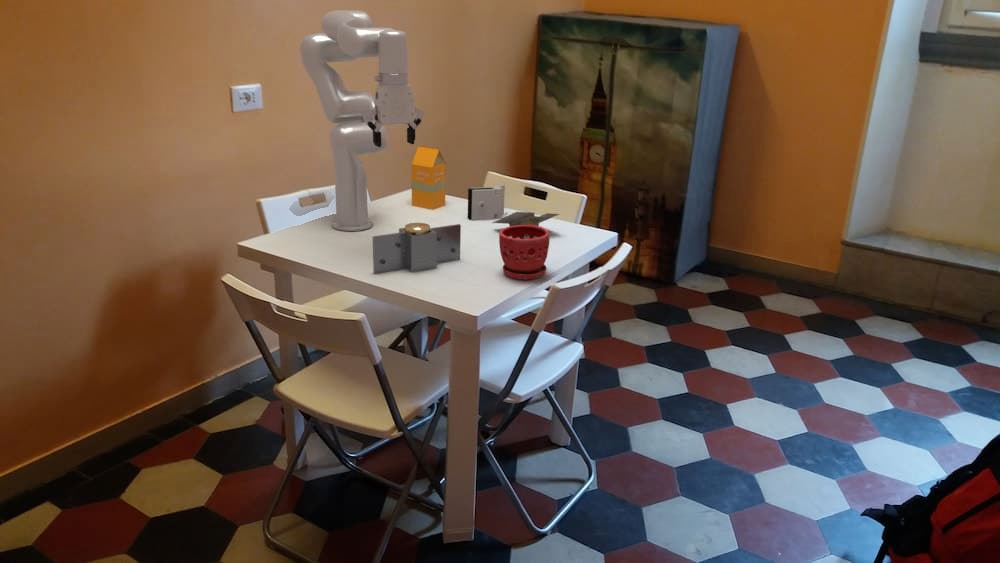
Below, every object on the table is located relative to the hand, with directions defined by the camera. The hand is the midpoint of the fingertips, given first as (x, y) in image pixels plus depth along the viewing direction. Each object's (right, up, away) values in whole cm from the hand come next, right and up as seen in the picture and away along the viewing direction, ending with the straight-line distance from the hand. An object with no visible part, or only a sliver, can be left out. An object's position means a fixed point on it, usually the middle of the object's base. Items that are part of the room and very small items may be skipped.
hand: (394, 144), depth 211 cm
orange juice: (+4, -11, +57) cm, 58 cm away
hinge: (+24, -16, +46) cm, 54 cm away
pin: (+6, -32, 0) cm, 33 cm away
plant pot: (+35, -35, -3) cm, 49 cm away
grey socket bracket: (+6, -33, 0) cm, 33 cm away
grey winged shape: (+36, -22, +31) cm, 53 cm away
